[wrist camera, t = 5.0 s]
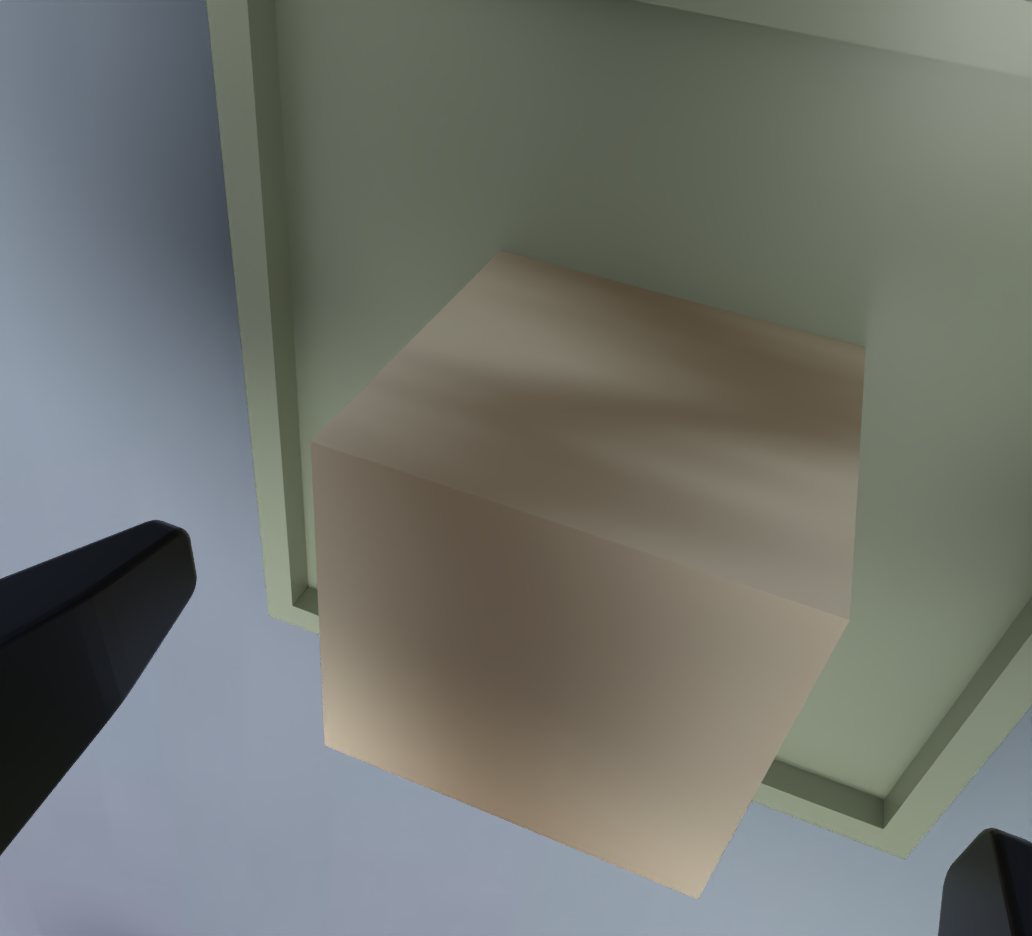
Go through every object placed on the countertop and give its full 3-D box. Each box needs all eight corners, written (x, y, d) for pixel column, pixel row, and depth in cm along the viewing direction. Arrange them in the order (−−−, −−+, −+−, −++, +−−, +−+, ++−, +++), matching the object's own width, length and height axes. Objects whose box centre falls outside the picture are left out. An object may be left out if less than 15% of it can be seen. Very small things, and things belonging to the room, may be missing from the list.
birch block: (866, 347, 11) (849, 619, 7) (752, 611, 14) (697, 899, 10) (500, 250, 12) (310, 441, 8) (471, 516, 15) (324, 745, 11)
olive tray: (1474, 67, 8) (1537, 92, 7) (904, 811, 16) (904, 859, 15) (243, -147, 10) (191, -146, 10) (294, 584, 18) (268, 615, 18)
